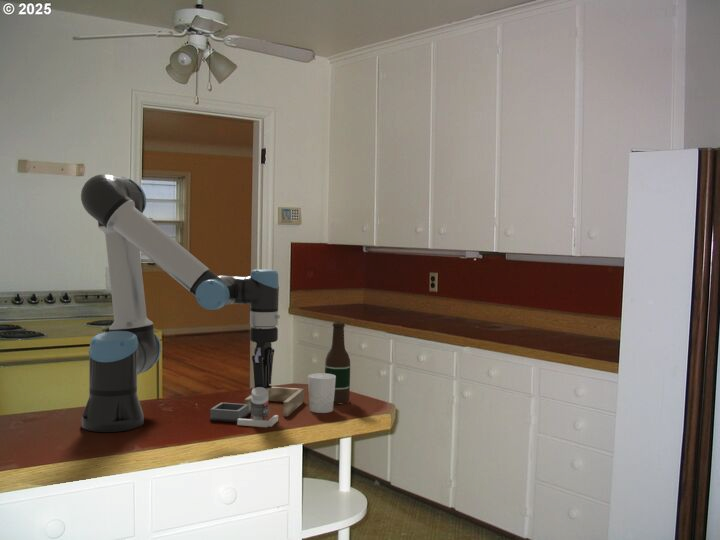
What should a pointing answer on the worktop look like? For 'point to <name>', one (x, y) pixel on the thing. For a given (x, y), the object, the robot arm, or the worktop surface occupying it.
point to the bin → (229, 412)
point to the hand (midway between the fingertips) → (262, 412)
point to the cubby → (283, 398)
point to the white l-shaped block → (258, 422)
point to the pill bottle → (259, 404)
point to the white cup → (321, 392)
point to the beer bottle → (339, 364)
